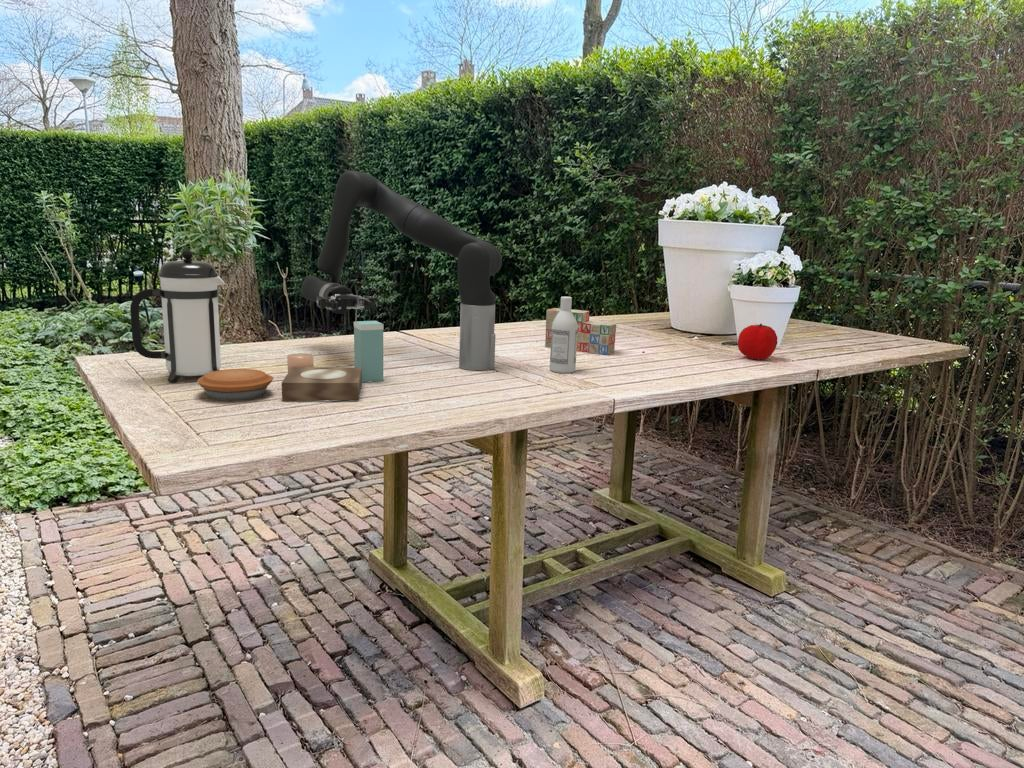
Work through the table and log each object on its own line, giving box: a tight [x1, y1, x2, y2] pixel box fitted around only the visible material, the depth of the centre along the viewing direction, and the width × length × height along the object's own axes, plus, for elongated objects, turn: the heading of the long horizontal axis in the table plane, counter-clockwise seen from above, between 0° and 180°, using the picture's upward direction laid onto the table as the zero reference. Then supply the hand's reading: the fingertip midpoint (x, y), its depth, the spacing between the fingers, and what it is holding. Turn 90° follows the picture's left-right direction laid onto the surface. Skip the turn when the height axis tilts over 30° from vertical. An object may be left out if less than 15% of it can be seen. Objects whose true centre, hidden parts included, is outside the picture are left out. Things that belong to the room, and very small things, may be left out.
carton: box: [353, 320, 385, 383], centre depth 178 cm, size 6×6×14 cm
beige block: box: [286, 352, 315, 373], centre depth 176 cm, size 6×6×6 cm
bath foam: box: [549, 296, 578, 374], centre depth 196 cm, size 7×7×20 cm
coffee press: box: [129, 249, 226, 384], centre depth 171 cm, size 17×16×30 cm
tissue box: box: [281, 366, 363, 402], centre depth 165 cm, size 16×16×4 cm
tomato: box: [737, 323, 778, 360], centre depth 227 cm, size 12×12×11 cm
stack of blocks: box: [544, 307, 617, 356], centre depth 230 cm, size 21×6×12 cm, turn 62°
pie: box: [197, 368, 274, 402], centre depth 161 cm, size 15×16×5 cm
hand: (353, 306), depth 186 cm, fingers open, 8 cm apart
